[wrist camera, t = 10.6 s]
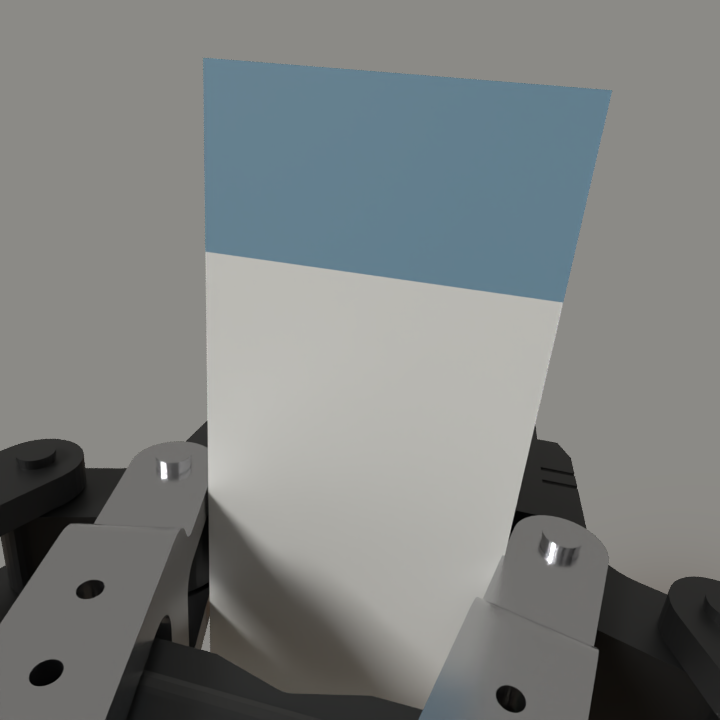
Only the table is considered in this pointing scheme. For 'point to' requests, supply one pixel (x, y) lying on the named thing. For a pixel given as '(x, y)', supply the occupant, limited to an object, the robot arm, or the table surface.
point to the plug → (375, 354)
